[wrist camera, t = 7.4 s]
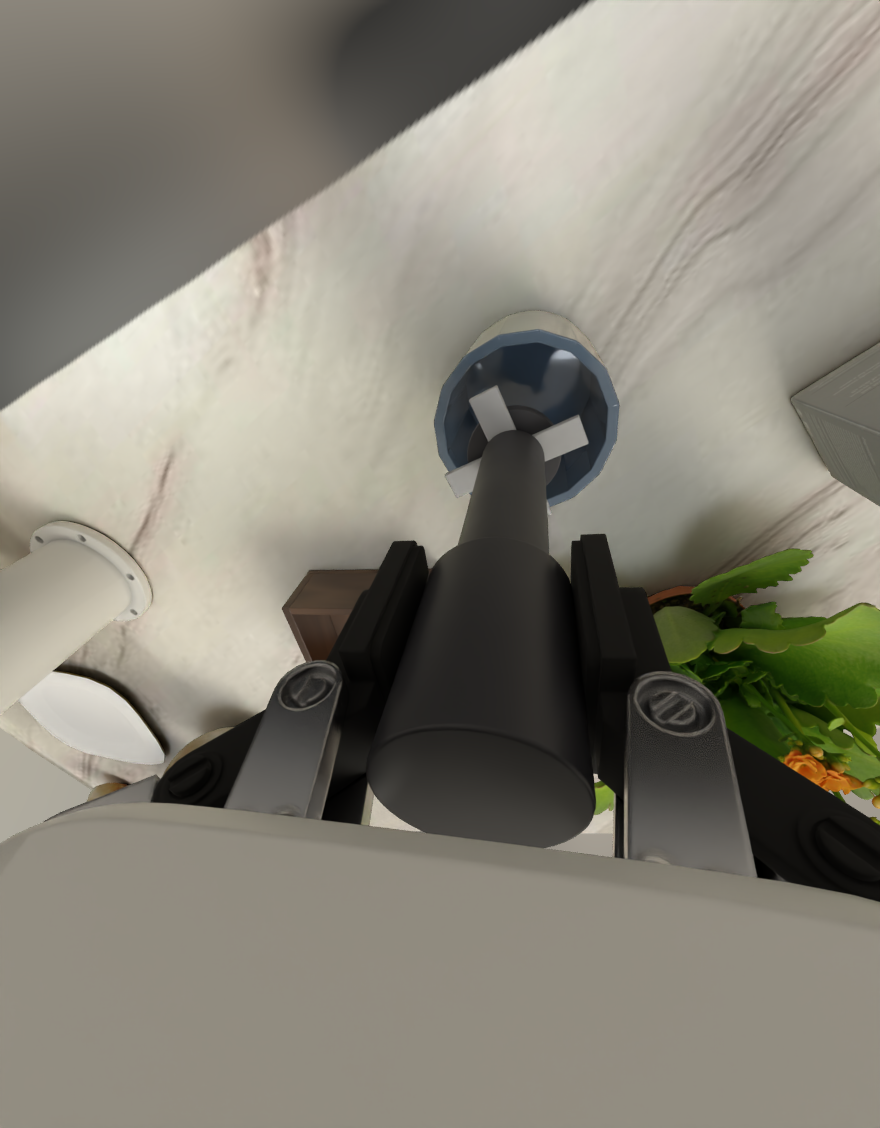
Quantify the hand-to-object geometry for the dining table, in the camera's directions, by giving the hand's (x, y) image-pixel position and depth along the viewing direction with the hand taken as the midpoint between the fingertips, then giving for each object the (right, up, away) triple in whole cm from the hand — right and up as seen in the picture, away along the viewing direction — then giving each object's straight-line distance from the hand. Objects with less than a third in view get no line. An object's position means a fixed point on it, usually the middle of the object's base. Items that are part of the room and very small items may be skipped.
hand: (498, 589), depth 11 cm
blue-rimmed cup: (+4, +12, +17) cm, 21 cm away
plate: (-54, -22, +55) cm, 80 cm away
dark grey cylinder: (+2, +6, +8) cm, 10 cm away
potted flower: (+19, -4, +25) cm, 32 cm away
